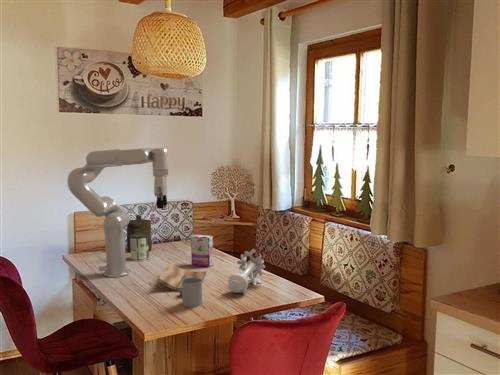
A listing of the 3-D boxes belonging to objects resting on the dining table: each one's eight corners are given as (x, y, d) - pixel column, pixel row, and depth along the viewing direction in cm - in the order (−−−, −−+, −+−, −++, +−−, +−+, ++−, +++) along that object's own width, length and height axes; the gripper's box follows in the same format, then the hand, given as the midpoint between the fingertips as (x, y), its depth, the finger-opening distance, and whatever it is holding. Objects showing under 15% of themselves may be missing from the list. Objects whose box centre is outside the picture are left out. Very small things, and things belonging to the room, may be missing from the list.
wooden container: (156, 248, 324) (155, 213, 322) (142, 253, 311) (141, 217, 309) (136, 246, 330) (135, 212, 328) (122, 251, 317) (120, 216, 315)
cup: (183, 300, 224) (182, 278, 223) (202, 299, 225) (201, 277, 224) (182, 307, 216) (181, 283, 215) (202, 306, 216) (201, 283, 215)
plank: (157, 280, 237) (158, 278, 237) (169, 265, 265) (170, 262, 265) (174, 290, 238) (176, 287, 237) (184, 273, 265) (185, 271, 265)
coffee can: (139, 256, 306) (138, 232, 304) (152, 258, 300) (152, 234, 299) (126, 259, 297) (125, 235, 295) (140, 262, 291) (139, 237, 290)
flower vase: (246, 309, 232) (266, 280, 254) (248, 274, 225) (269, 248, 246) (220, 300, 237) (242, 273, 258) (221, 266, 229) (244, 241, 251)
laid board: (176, 291, 238) (176, 287, 237) (186, 274, 265) (186, 271, 265) (198, 291, 237) (198, 287, 237) (205, 274, 265) (205, 271, 265)
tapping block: (181, 298, 228) (181, 291, 228) (179, 295, 232) (179, 288, 232) (199, 296, 231) (199, 289, 230) (197, 293, 234) (197, 287, 234)
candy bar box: (213, 265, 283) (213, 235, 281) (209, 267, 279) (209, 237, 277) (195, 263, 287) (194, 234, 286) (191, 265, 283) (190, 235, 281)
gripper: (156, 171, 268) (157, 204, 269) (149, 174, 250) (151, 209, 252) (171, 171, 267) (172, 204, 269) (164, 174, 250) (166, 209, 252)
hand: (162, 206), depth 261 cm, fingers open, 9 cm apart
